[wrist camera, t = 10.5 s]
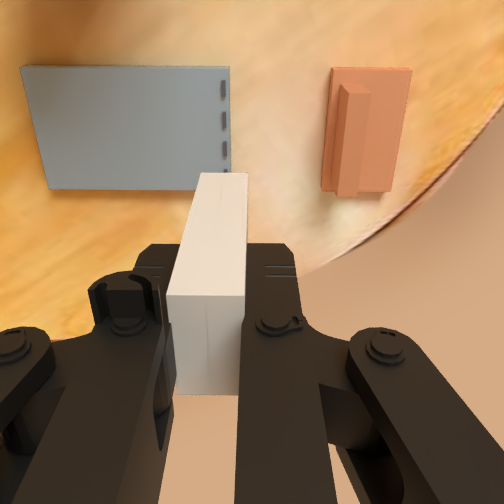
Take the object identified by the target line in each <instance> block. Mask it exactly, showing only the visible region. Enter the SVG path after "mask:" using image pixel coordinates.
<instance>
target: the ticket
mask: <svg viewBox="0 0 504 504" xmlns="http://www.w3.org/2000/svg"><path fill="white" fill-rule="evenodd" d="M19 68H20V72H21V76H22V80H23V84H24V89H25V93H26V97H27V101H28V105H29V109H30V113H31V117H32V122H33V126H34V130H35V134H36V138H37V142H38V146H39V151H40V155H41V159H42V163H43V167H44V171H45V175H46V180H47V184H48V188H49V189H81V190H196V188H197V185H198V181H199V178H200V174H201V173H231V134H230V78H229V67H211V66H81V65H25V66H22V67H19Z"/></svg>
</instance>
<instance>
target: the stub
mask: <svg viewBox="0 0 504 504" xmlns="http://www.w3.org/2000/svg"><path fill="white" fill-rule="evenodd" d="M411 76H412V70H411V69H409V68H341V67H332V69H331V80H330V91H329V102H328V113H327V124H326V135H325V146H324V157H323V168H322V179H321V188H322V191H335V193H336V196H337V197H350V198H357V196H358V192H391V188H392V182H393V177H394V171H395V166H396V160H397V154H398V149H399V143H400V137H401V132H402V126H403V121H404V115H405V109H406V104H407V98H408V92H409V87H410V81H411Z"/></svg>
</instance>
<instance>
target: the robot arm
mask: <svg viewBox="0 0 504 504" xmlns="http://www.w3.org/2000/svg"><path fill="white" fill-rule="evenodd" d="M88 295H89V299H90V304H91V308H92V313H93V317H94V322H95V326H94V328H93V330H92V332H91V333H88V334H86V335H83V336H79V337H76V338H71V339H66V340H61V341H57V342H52V343H51V341H50V337H49V336H48V335H47V334H46V332H45V331H44V330H41V329H38V328H36V327H17V328H12V329H7V330H4V331H2V332H0V504H158V500H159V494H160V489H161V484H162V478H163V472H164V467H165V462H166V456H167V450H168V445H169V440H170V434H171V429H172V423H173V418H174V409H173V401H172V396H173V391H174V386H175V381H176V389H177V395H239V397H238V422H237V447H236V448H237V449H236V471H235V498H234V504H338V503H337V498H336V491H335V484H334V478H333V472H332V466H331V460H330V453H329V447H328V443H330V444H334V445H335V446H336V451H337V453H338V455H339V457H340V460H341V462H342V464H343V466H344V468H345V471H346V473H347V475H348V477H349V479H350V482H351V484H352V486H353V489H354V491H355V493H356V495H357V497H358V500H359V502H360V504H504V451H503V449H502V448H501V447H500V446H499V444H498V443H497V442H496V441H495V440H494V438H493V437H492V436H491V435H490V433H489V432H488V431H487V430H486V428H485V427H484V426H483V425H482V423H481V422H480V421H479V420H478V419H477V417H476V416H475V415H474V414H473V412H472V411H471V410H470V409H469V407H468V406H467V405H466V404H465V402H464V401H463V400H462V399H461V398H460V397H459V395H458V394H457V393H456V392H455V390H454V389H453V388H452V387H451V385H450V384H449V383H448V382H447V381H446V379H445V378H444V377H443V375H442V374H441V373H440V372H439V370H438V369H437V368H436V367H435V366H434V364H433V363H432V362H431V361H430V359H429V358H428V357H427V356H426V354H425V353H424V352H423V351H422V349H421V348H420V347H419V346H418V345H417V344H416V343H415V342H414V341H413V340H412V339H411V338H409V337H408V336H406V335H404V334H402V333H400V332H398V331H396V330H391V329H387V328H383V327H379V328H367V329H364V330H361V331H358V332H357V333H356V334H355V335H354V336H352V337H351V340H350V341H345V340H341V339H337V338H333V337H330V336H327V335H324V334H322V333H320V332H318V331H316V330H315V329H314V328H312V327H311V326H310V325H309V324H308V322H307V320H306V318H305V317H304V316H303V314H302V308H301V302H300V295H299V288H298V282H297V277H296V268H295V261H294V255H293V253H292V252H291V251H290V249H289V248H288V247H287V246H286V245H285V244H281V243H248V173H201V174H200V178H199V181H198V185H197V188H196V192H195V195H194V199H193V202H192V206H191V209H190V213H189V216H188V220H187V223H186V227H185V230H184V234H183V237H182V241H181V244H151V245H150V246H148V247H147V248H146V249H145V250H144V251H142V252H141V253H140V254H139V256H138V259H137V261H136V263H135V268H133V270H132V271H122V272H116V273H113V274H110V275H106V276H104V277H102V278H100V279H99V280H97V281H95V282H94V283H93V284H92V285H91V286H90V287H89V289H88Z"/></svg>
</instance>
